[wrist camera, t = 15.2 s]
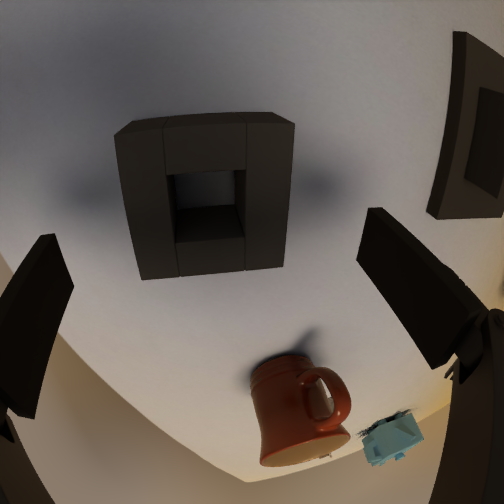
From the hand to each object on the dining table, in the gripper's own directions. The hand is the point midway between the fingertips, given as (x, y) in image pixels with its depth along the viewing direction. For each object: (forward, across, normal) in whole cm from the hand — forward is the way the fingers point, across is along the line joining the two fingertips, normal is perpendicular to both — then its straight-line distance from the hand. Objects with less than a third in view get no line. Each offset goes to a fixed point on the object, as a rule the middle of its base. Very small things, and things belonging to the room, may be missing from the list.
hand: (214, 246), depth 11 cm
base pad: (+7, +24, +5) cm, 25 cm away
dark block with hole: (+6, +24, +5) cm, 25 cm away
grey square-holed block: (+7, 0, 0) cm, 7 cm away
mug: (+7, +7, -20) cm, 22 cm away
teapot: (+8, +37, -61) cm, 71 cm away
